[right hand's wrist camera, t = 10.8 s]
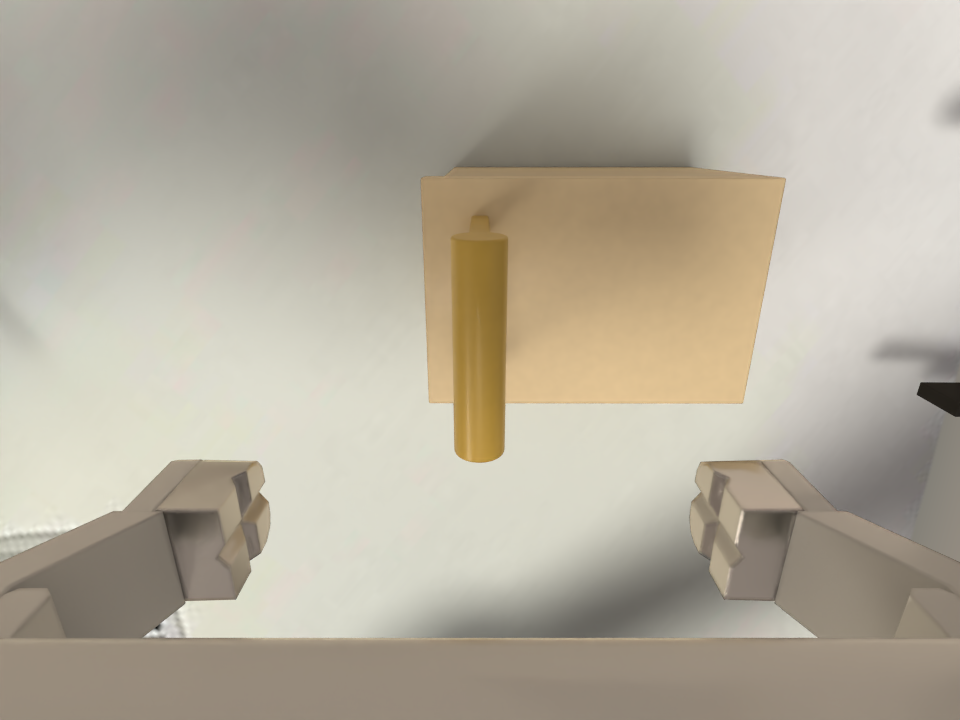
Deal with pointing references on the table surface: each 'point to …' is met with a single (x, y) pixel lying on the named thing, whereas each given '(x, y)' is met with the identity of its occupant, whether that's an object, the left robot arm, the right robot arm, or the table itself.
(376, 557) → the table surface
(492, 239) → the lid
